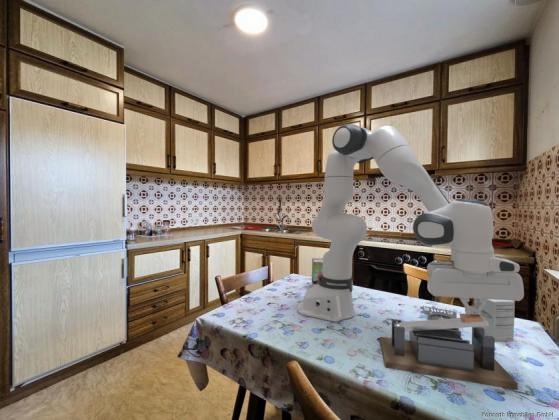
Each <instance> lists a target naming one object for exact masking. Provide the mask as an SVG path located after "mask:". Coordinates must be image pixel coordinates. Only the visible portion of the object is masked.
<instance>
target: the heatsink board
mask: <svg viewBox="0 0 559 420" xmlns="http://www.w3.org/2000/svg"><path fill="white" fill-rule="evenodd" d="M395 322H402V320H401V319H396V318H391V337H386V336H379V345H380V349H381V352H382V358H383V363H384V367H385V368H389V369H394V370H399V371H405V372H409V373H410V372H411V373H416V374H423V375H428V376H429V375H430V376H435V377H439V378H440V377H442V378H448V379H453V380H457V381H458V380H459V381H465V382H469V383H470V382H471V383H475V384H476V383H477V384H482V385H486V386H495V387H499V388H507V389H512V390H517V391H518V390H519V389H518V387H519V384H518V382H517V381H516V379H514V378H513V377H512V375H511V374H510V373H509V372H508V371H507V370H506V369H505V368H504V367H503V366H502V365H501V364H500V363H499V362H498V361H497V360H496V358H495V356H496V354H495V353H496V352H495V349H496V347H495V345H496V343H495V342H496V341H495V338H494V337H493V336H485V329H484V328H483V327H471V342H470V340H468V339H464V338H462V331H461V330H460V329H459V330H458V328H451V329H436V330H420V331H409V340H408V339H406V338H405V337H406V333H405V332H406V331H405V328H404V327H398V326H395V327H394V323H395Z"/></svg>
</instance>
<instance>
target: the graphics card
mask: <svg viewBox="0 0 559 420" xmlns="http://www.w3.org/2000/svg"><path fill="white" fill-rule="evenodd" d="M419 307H420V308H419V309H420V314H422V313H423V315H427V320H438V319H451V318H458V317H457V313H458V312H457V311H455V310H451V309H449V310H448V309H443V308H437V307H431V306H425V305H422V306H419ZM425 308H426V309H425ZM458 330H459V331H460V328H458Z"/></svg>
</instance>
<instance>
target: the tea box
mask: <svg viewBox="0 0 559 420" xmlns="http://www.w3.org/2000/svg"><path fill="white" fill-rule="evenodd" d="M311 260H312V261H311V288H312V287H314V286H315V285H317V284H318V282H317V279H318V277H317V276H318V274H319V273H322V274H323V257H322V258H320V257H319V258H317V257H316V258H315V257H312V259H311Z"/></svg>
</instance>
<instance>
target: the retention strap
mask: <svg viewBox="0 0 559 420" xmlns="http://www.w3.org/2000/svg"><path fill="white" fill-rule="evenodd" d="M395 326H398V327H404V328H405V332H410V331H420V330H436V329H451V328H459V329H464V328H472V327H482V326H489V323H488V321H487V320H486V319H485V318H484V317H482V316H480V315H467V314H466V313H459V317H457V318H451V319H438V320H428V319H425V320H413V321H412V320H411V321H401V322H395V323H394V327H395Z"/></svg>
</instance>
